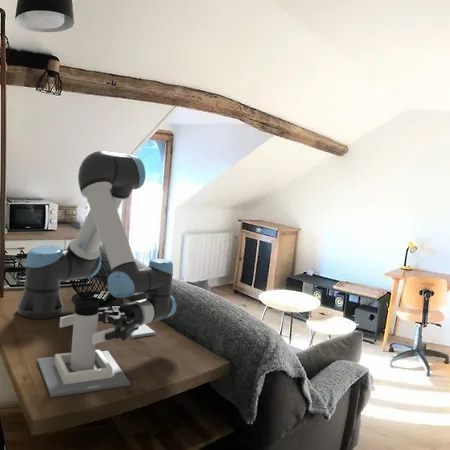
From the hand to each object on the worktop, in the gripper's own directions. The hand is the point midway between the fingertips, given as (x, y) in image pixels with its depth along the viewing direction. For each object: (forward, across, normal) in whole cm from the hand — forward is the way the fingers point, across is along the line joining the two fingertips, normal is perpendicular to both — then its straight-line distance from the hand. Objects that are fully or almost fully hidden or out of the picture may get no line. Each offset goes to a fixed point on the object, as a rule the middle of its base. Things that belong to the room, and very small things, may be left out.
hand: (76, 330), depth 119 cm
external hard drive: (-37, +13, -14) cm, 41 cm away
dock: (-3, 0, -13) cm, 13 cm away
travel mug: (-3, 0, -12) cm, 13 cm away
